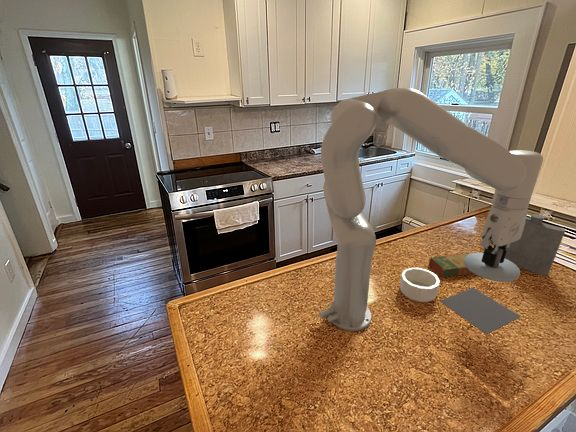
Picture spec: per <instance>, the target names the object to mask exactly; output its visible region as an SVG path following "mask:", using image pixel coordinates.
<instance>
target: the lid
mask: <svg viewBox="0 0 576 432" xmlns="http://www.w3.org/2000/svg"><path fill="white" fill-rule="evenodd" d="M491 246H492V247H494V245H491ZM483 253H484V252H472V253H470V254H469V255H467V256H466V257H465V261H464V264H465V266H466V267H467V268H468V269H469V270H470V271H471V272H473V273H472V274H474V275H476V276H478V277H480V278H484V279H486V280H490V281H493V282H494V281H495V282H501V283H510V282H513V281H514V282H515V281H516V280H518V279H519V277H520V275H521V270H520V267H519V266H517V265H515V264H514V263H513V262H511V261H509V260H507V259H504V262H503V263H500V260H501V257H502V253H503V249H501V248H499V247H498V249H497V252H496V254H497V258H496V261H495V264H494V266H493V267H491V266H489V265H487V264H485V263H483V262H482V257H483Z"/></svg>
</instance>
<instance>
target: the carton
mask: <svg viewBox="0 0 576 432" xmlns="http://www.w3.org/2000/svg"><path fill="white" fill-rule="evenodd" d="M469 254H471V253H470V252H464V253H457V254H450V255H449V254H447V255H442V256H434V257H430V259H429V260H428V261H429V262H428V268H430V270H431V269H432V270H434V271H435V272H436V273H437V274H438V275H439V276H440V277H441V278H449V277H453V276H461V275H467V274H468V275H469V274H474V273H473V272H471V271H470V270H469V269H468V268H467V267H466V266H465V264H464V261H465V257H466V256H467V255H469Z"/></svg>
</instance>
